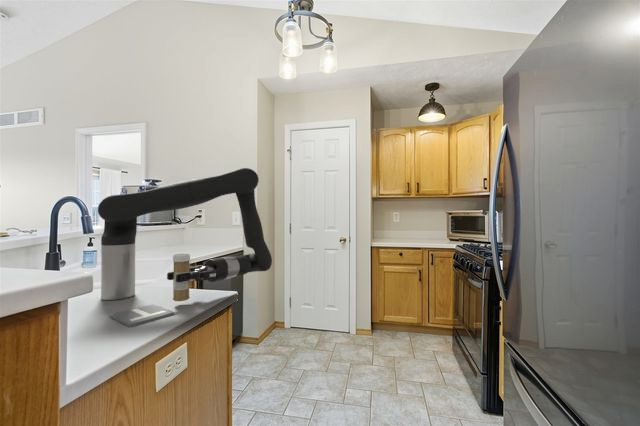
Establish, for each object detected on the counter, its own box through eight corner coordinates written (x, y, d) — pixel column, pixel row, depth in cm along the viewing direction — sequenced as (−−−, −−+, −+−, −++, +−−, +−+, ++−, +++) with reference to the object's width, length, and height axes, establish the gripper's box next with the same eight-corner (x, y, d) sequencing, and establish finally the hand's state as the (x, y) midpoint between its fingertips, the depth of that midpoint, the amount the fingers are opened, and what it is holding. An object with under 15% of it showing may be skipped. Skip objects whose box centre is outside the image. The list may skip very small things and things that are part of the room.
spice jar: (176, 297, 88) (176, 253, 89) (191, 297, 89) (192, 253, 89) (170, 302, 84) (170, 255, 84) (186, 301, 84) (186, 255, 84)
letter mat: (109, 317, 76) (109, 314, 76) (152, 306, 85) (152, 303, 85) (129, 327, 69) (129, 324, 70) (174, 314, 78) (174, 311, 79)
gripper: (209, 255, 102) (159, 262, 88) (236, 259, 94) (185, 267, 80) (209, 277, 102) (159, 286, 88) (235, 282, 94) (185, 294, 80)
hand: (172, 277), depth 84 cm, fingers closed on spice jar, 4 cm apart
